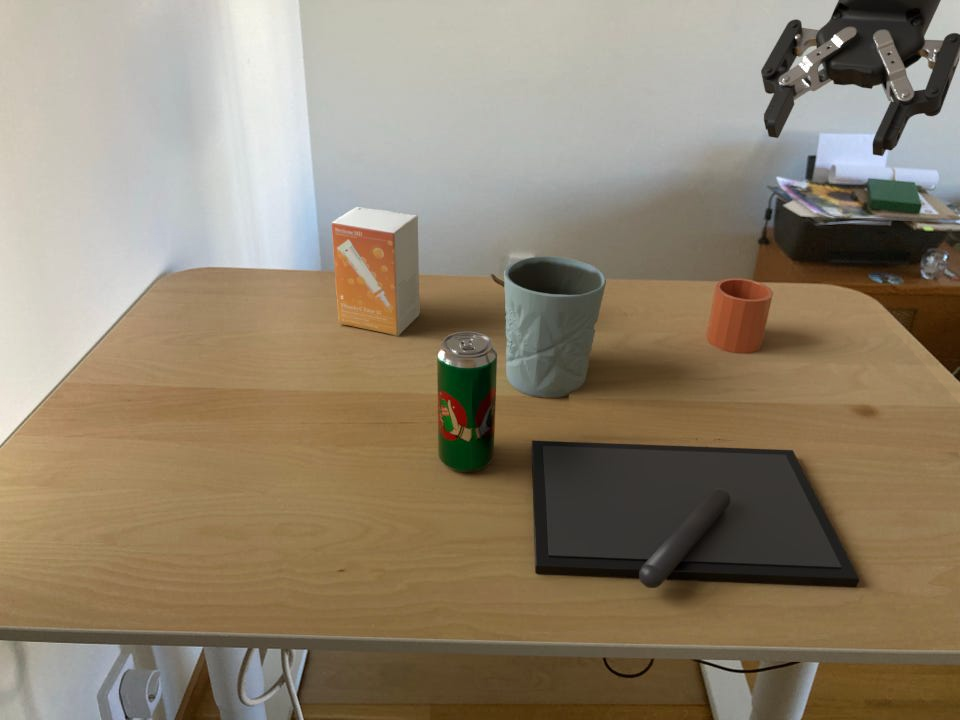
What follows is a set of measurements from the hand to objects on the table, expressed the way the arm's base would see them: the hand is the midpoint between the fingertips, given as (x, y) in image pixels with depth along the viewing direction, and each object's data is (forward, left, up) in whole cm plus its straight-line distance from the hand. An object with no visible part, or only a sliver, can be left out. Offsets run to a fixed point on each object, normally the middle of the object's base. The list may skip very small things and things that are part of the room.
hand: (822, 140), depth 64 cm
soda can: (+29, +8, -28) cm, 41 cm away
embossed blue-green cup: (+21, -7, -28) cm, 35 cm away
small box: (+41, -19, -28) cm, 53 cm away
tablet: (+11, +14, -27) cm, 33 cm away
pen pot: (-1, -16, -27) cm, 32 cm away
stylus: (+7, +14, -26) cm, 30 cm away
